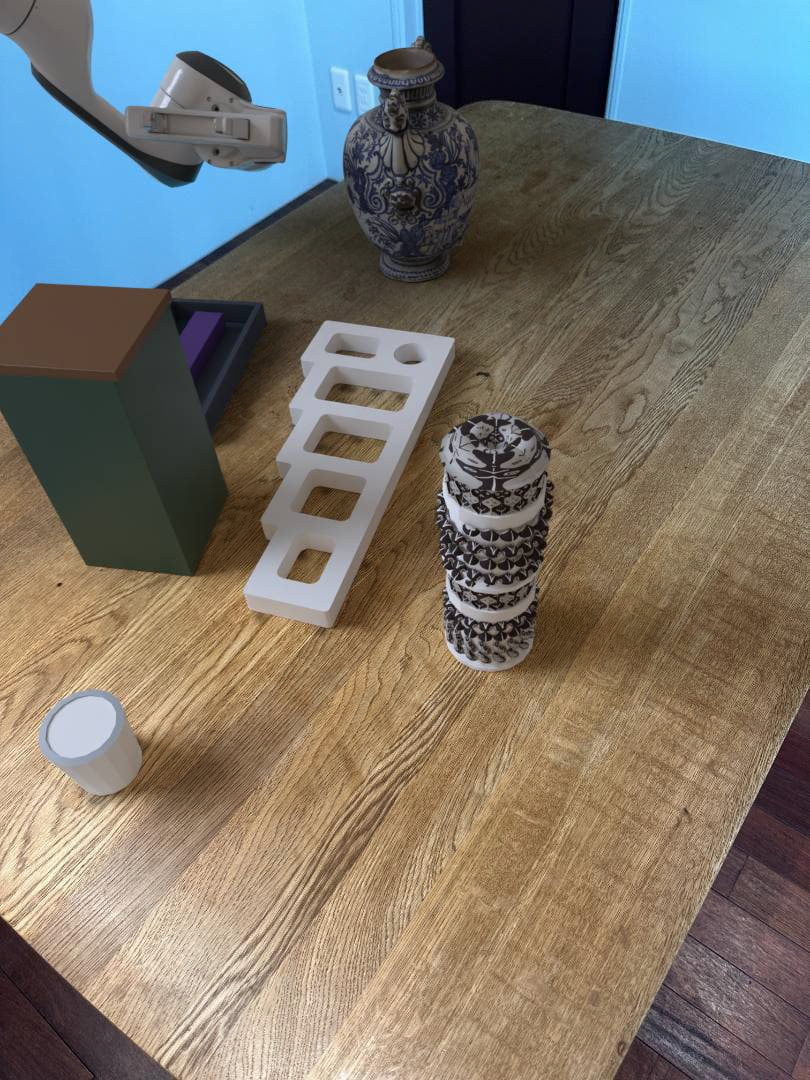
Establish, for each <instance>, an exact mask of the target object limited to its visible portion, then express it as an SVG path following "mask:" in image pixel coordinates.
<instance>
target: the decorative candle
mask: <svg viewBox="0 0 810 1080" xmlns="http://www.w3.org/2000/svg"><path fill="white" fill-rule="evenodd" d="M438 454H439V458H440V462H441V464H442V467H443V470H444V473H443V474H444V475H443V478H442V489H440V490H439V491H437V494H436V500H437V502H438V505H436V506H435V514H436V516H437V518H436V519H435V523H436V526H437V527H438V528H439V529H440V534H439V536H438V543H439V545H440V546H439V548H438V552H439V554H440V555H441V558H442V567H443V569H444V570H445V572H446V575H445V577H444V584H445V586H444V587H443V588H442V591H441V595H442V596H443V597H444V599H443V600H442V605H443V607H444V609H443V612H442V618H443V623H442V626H443V629H444V638H445V642H446V645H447V649H448V650H449V652H450V654H452V655H453V656H454V658H455V659H456V660H457V661H458V662H459V663H461V664H463V665H464V666H466V667H468V668H470V669H472V670H473V671H482V672H487V673H495V672H501V671H506V670H510V669H512V668H513V667H516V665H518V664H519V663H522V662H524V660H525V659H526V658H527V656H528V655H529V653H530V651H531V650H532V649H533V644H534V638H535V637H536V633H535V629H536V628H537V621H536V620H535V618H536V617H537V615H538V610H537V607H538V606H539V598H538V597H537V596H538V595H540V590H541V588H540V587H539V586H538V585H537V579H538V573H539V571H540V570H541V567H542V563H543V562H544V559H545V556H544V551H545V549H546V548H547V546H548V540H547V538H546V537H547V536H548V535H549V531H550V526H549V523H548V522H549V521H550V519H551V518H552V517H553V513H554V512H553V509H552V506H553V504H554V497H555V496H554V495H553V493H551V492H552V491H553V490H554V489H555V484H554V483H553V481H552V480H550V479H548V476H549V473H548V471H547V470H546V469H547V468H548V467H549V465H550V462H551V454H552V448H551V446H550V443H549V441H548V438H547V437H546V435H545V434H544V433H543V432H542V431H540V429H538V428H537V427H536V426H535V425H533V424H532V423H530V422H528V421H525V420H524V419H523V418H521V417H518V416H515V415H513V414H510V413H505V412H495V411H492V412H486V413H481V414H477V415H475V416H472V417H471V418H469V419H467V420H465V421H463V422H461V423H459V424H457V425H455V426H453V428H451V430H449V432H448V433H446V434H445V436H444V437H443V438H442V441H441V445H440V448H439V452H438Z"/></svg>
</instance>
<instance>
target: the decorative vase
mask: <svg viewBox="0 0 810 1080" xmlns="http://www.w3.org/2000/svg"><path fill="white" fill-rule="evenodd" d="M431 45H432V44H431V43H430V42H428V41H427V40H426V39H425V37H424V36H423V35H418V36H417V37H416V40H415V41H414V42H412V43H411V45H410V46H409V47H400V48H399V47H398V48H393V49H389V50H387V51H384V52H382V53H380V54H379V55H377V56H376V57H375V58H374V60H373V65H371V66H370V67H369V69H368V70H367V74H366V78H367V80H368V82H369V83H370V84H371V85H373V86H375V87H377V88H378V89H379V92H380V93H379V94H378V97H377V98H378V101H379V103H380V104H379V105H376V106H374V107H372V108H370V109H368V110H366V111H365V112H363V113H362V114H360V116H358V117H357V119H356V120H355V121H353V124H352V125H351V126H350V128H349V130H348V132H347V135H346V137H345V140H344V144H343V151H342V173H343V180H344V186H345V192H346V195H347V199H348V201H349V204H350V207H351V209H352V211H353V214H354V216H355V218H356V220H357V222H358V225H359V226H360V228H361V230H362V231H363V232H364V234H365V236H366V237H367V239H368V240H369V241H370V242H371V243H372V245H374V247H375V248H376V249H377V250H378V251H380V252H381V254H380V257H379V268H380V270H381V272H382V273H383V274H384V275H385V276H386V277H388V278H390V279H392V280H393V281H394V280H395V281H398V282H403V283H423V282H427V281H431V280H434V279H437V278H439V277H441V276H443V274H445V273H446V272H447V270H448V269H449V268H450V267H449V266H450V263H451V258H450V254H449V252H450V251H453V249H454V248H458V247H460V246H462V245H463V243H464V241H463V240H464V239H465V233H466V231H467V230H468V228H469V226H470V223H469V217H470V214H471V212H472V210H473V206H474V203H475V201H476V197H477V191H478V187H479V178H480V152H479V146H478V140H477V136H476V134H475V131H474V129H473V128H472V125H471V124H470V123H469V121H468V120H467V119H466V117H465V116H463V115H462V114H461V113H460V112H458V111H457V110H456V109H454V108H453V107H452V106H450V105H448V104H446V103H444V102H441V101H438V100H437V98H436V97H437V92H436V90H435V88H434V86H435V84H436V83H437V82H438V81H440V80H441V79H442V78H443V76H444V75H445V72H446V70H445V67H444V65H443V63H442V62H440V61H439V60H438V59H437V56H436V54H435V53H434V52H433V51H432V46H431Z"/></svg>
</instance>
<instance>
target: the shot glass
mask: <svg viewBox="0 0 810 1080" xmlns="http://www.w3.org/2000/svg"><path fill="white" fill-rule="evenodd" d="M37 743H38V746H39V749H40V751H41V753H42V756H43V757H44V758H45V759H47V760H48V761H49V762H50V763H51V764H53V765H54V766H55V767H57V768H58V769H59V770H60V771H61V772H62V773H63V774H65V775H66V776H67V777H68V778H70V780H72V781H73V782H74V783H76V784H77V786H79V787H80V788H81V789H82V790H84V791H86V792H87V793H88V794H89V795H93V796H94V795H95V796H100V797H104V796H108V795H114V794H117V793H118V792H120V791H122V790H123V789H125V788H127V787H129V785H130V784H131V783H132V782H133V781H134V779H135V778H136V777H137V776H138V774H139V772H140V769H141V767H142V765H143V751H142V749H141V746H140V744H139V742H138V740H137V737H136V734H135V732H134V729H133V727H132V725H131V723H130V721H129V718H128V716H127V713H126V711H125V709H124V707H123V705H122V703H121V700H120V698H118V697H116V696H115V695H114V694H112V693H110V692H109V691H107V690H103V689H95V688H90V689H86V690H81V691H76V692H74V693H72V694H70V695H68V696H66V697H65V698H62V699H60V700H59V701H58V702H57V703H56V704H55V705H54V706H53V707H52V708H51V709H50V710H49V711H48V712H47V713H46V714H45V717H44V718H43V721H42V722H41V725H40V726H39V729H38V740H37Z"/></svg>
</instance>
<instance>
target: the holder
mask: <svg viewBox="0 0 810 1080" xmlns="http://www.w3.org/2000/svg"><path fill="white" fill-rule="evenodd" d="M339 351H346V352H347V351H348V352H355V353H360V354H368V355H374V356H373V357H370V358H366V357H360V356H353V355H346V354H338V353H337V352H339ZM455 358H456V340H455V338H454V337H450V336H445V335H444V336H443V335H435V334H431V333H430V334H428V333H422V332H415V331H408V330H401V329H400V330H399V329H394V328H393V329H392V328H385V327H377V326H373V325H372V326H371V325H363V324H356V323H349V322H342V321H334V320H325V321H324V322H323V323H322V324H321V326H320V327H319V329H318V331H317V332H316V334H315V335H314V337H313V338H312V340H311V341H310V343H309V345H308V346H307V347H306V349H305V350H304V352H303V354H302V355H301V356H300V364H301V369H302V375H303V378H305V379H303V382H302V384H301V385H300V387H299V388H298V390H297V391H296V393H295V395H294V396H293V398H292V399H291V401H290V402H289V404H288V409H289V413H290V418H291V423H292V425H294V427H293V429H292V431H290V434H289V436H288V437H287V439H286V441H284V443H283V445H282V447H281V449H280V450H279V452H278V454H277V455H276V457H275V462H276V466H277V471H278V475H279V478H280V479H282V482H281V483H280V485H279V487H278V488H277V490H276V492H275V493H274V496H273V497H272V499H271V500H270V502H269V504H268V506H267V507H266V509H265V511H264V512H263V514H262V516H261V517H260V523H261V527H262V531H263V533H264V534H263V535H264V538H265V540H268V541H269V542H268V544H267V546H266V548H265V549H264V551H263V553H262V555H261V557H260V559H259V560H258V562H257V564H256V566H255V567H254V569H253V571H252V572H251V574H250V576H249V579H247V581H246V584H245V585H244V587H243V588H242V591H243V592H242V593H243V595H244V598H245V602H246V604H247V606H248V610H250V611H254V612H257V613H262V614H265V615H270V616H275V617H278V618H283V619H286V620H291V621H296V622H300V623H305V624H308V625H312V626H316V627H322V628H324V629H325V628H326V629H331V628H333V627H334V624H335V622H336V620H337V618H338V616H339V613H340V611H341V609H342V607H343V604H344V602H345V600H346V598H347V596H348V594H349V592H350V589H351V587H352V585H353V583H354V580H355V578H356V576H357V574H358V571H359V569H360V567H361V565H362V563H363V560H364V559H365V556H366V554H367V551H368V550H369V548H370V546H371V543H372V541H373V538H374V536H375V534H376V532H377V530H378V528H379V525H380V523H381V521H382V519H383V517H384V515H385V512H386V510H387V508H388V506H389V503H390V501H391V499H392V497H393V495H394V492H395V490H396V488H397V486H398V483H399V481H400V479H401V477H402V474H403V473H404V470H405V468H406V466H407V464H408V461H409V459H410V457H411V456H412V453H413V451H414V449H415V446H416V444H417V442H418V439H419V437H420V435H421V433H422V431H423V428H424V426H425V424H426V423H427V420H428V418H429V415H430V414H431V411H432V409H433V407H434V404H435V402H436V401H437V397H438V395H439V394H440V391H441V389H442V386H443V384H444V382H445V381H446V378H447V376H448V374H449V371H450V370H451V367H452V365H453V363H454V360H455ZM412 361H414V362H418V363H415V364H414V363H413V364H408V363H407V362H412ZM337 384H344V385H350V386H357V387H363V388H368V389H376V390H381V391H387V392H394V393H401V394H407V395H408V398H407V400H406V401H405V404H404V406H403V408H402V409H400V410H397V411H393V410H387V409H380V408H374V407H369V406H363V405H356V404H349V403H343V402H338V401H331V400H326V399H327V396H328V395H329V394H330V392H331V390H332V388H333V387H334V386H335V385H337ZM329 432H333V433H338V434H344V435H349V436H355V437H362V438H367V439H373V440H379V441H385V442H386V443H385V444H384V445H383V446H384V447H383V449H382V451H381V453H380V454H379V457H378V459H377V460H376V461H374V462H367V461H361V460H360V461H359V460H354V459H350V458H343V457H337V456H332V455H327V454H321V453H317V452H315V450H316V448H317V446H318V444H319V443H320V441H321V439H322V437H323V436H324V435H325V434H326V433H329ZM317 487H324V488H330V489H334V490H339V491H345V492H351V493H354V494H355V493H356V494H360V495H359V498H358V499H357V501H356V504H355V506H354V508H353V510H352V512H351V514H350V516H349V517H348V518H347V519H346V520H336V519H331V518H326V517H322V516H316V515H311V514H307V513H301V511H302V510H303V508H304V505H305V504H306V502H307V500H308V498H309V496H310V495H311V493H312V491H314V489H315V488H317ZM308 549H310V550H315V551H318V552H323V553H328V554H330V557H329V558H328V562H327V563H326V564H325V567H324V569H323V571H322V573H321V575H320V577H319V579H318V580H317V581H316V582H313V583H306V582H302V581H297V580H293V579H288V576H289V575H290V573H291V571H292V568H293V566H294V565H295V563H296V561H297V559H298V557H299V555H300V554H301V552H302V551H304V550H308Z"/></svg>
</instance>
